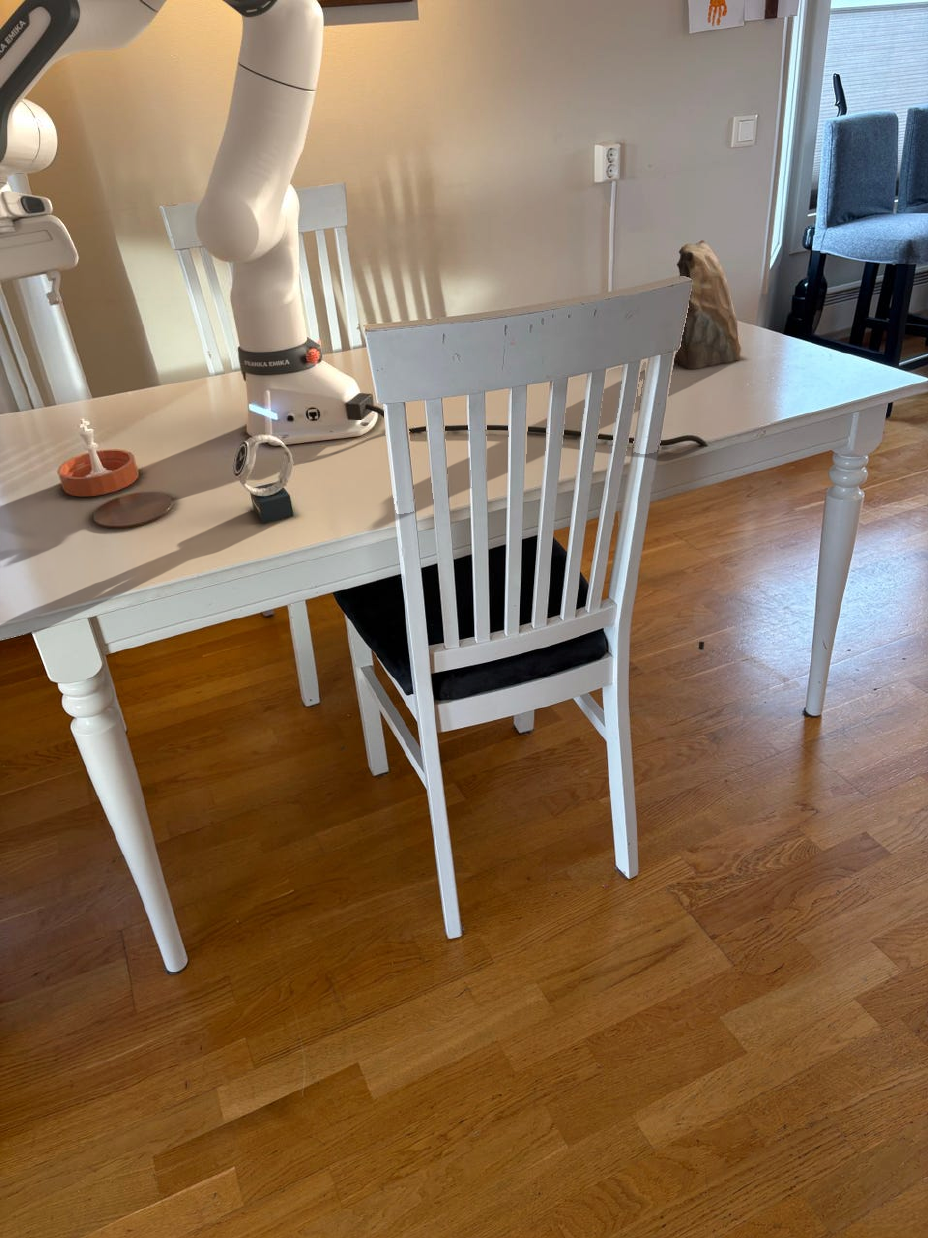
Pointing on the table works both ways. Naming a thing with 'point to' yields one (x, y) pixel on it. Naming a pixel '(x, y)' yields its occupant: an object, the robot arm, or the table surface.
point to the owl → (707, 311)
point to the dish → (80, 467)
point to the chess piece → (91, 449)
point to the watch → (270, 497)
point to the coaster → (133, 510)
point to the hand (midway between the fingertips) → (25, 310)
